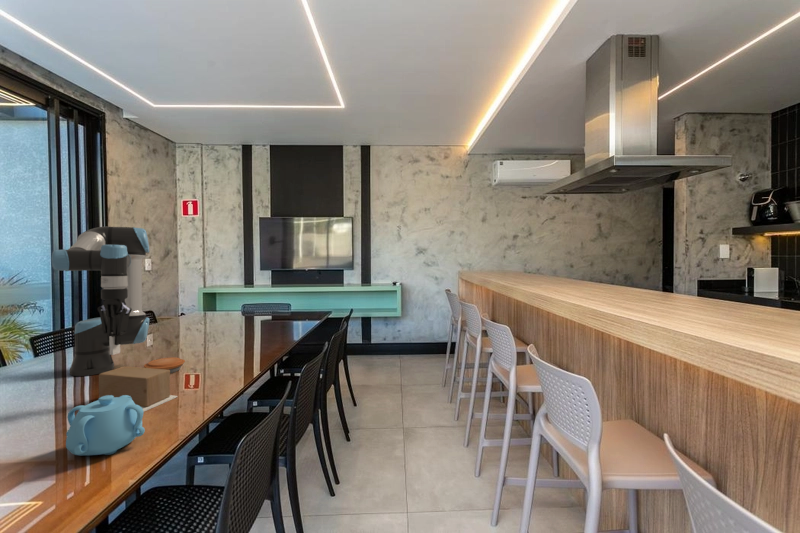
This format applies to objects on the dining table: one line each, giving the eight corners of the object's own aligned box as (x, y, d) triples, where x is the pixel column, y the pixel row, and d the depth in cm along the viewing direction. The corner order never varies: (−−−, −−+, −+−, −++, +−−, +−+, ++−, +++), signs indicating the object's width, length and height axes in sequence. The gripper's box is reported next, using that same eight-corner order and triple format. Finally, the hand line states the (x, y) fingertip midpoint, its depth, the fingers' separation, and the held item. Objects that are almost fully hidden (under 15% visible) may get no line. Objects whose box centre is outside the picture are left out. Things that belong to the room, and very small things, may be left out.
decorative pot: (147, 448, 99) (147, 398, 99) (66, 471, 88) (66, 414, 88) (138, 427, 111) (138, 382, 111) (66, 445, 100) (66, 395, 100)
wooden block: (98, 402, 128) (146, 407, 124) (97, 373, 128) (146, 378, 124) (124, 392, 138) (170, 396, 134) (124, 365, 138) (170, 369, 134)
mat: (136, 391, 139) (136, 390, 139) (177, 397, 135) (177, 395, 135) (94, 407, 125) (94, 406, 125) (139, 413, 120) (139, 412, 120)
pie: (192, 367, 171) (192, 356, 171) (166, 377, 156) (166, 366, 156) (163, 365, 174) (163, 354, 174) (134, 375, 159) (134, 363, 159)
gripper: (89, 288, 129) (90, 355, 130) (118, 289, 126) (118, 357, 127) (110, 286, 136) (111, 349, 137) (138, 287, 133) (139, 352, 134)
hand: (115, 353), depth 132 cm, fingers closed
